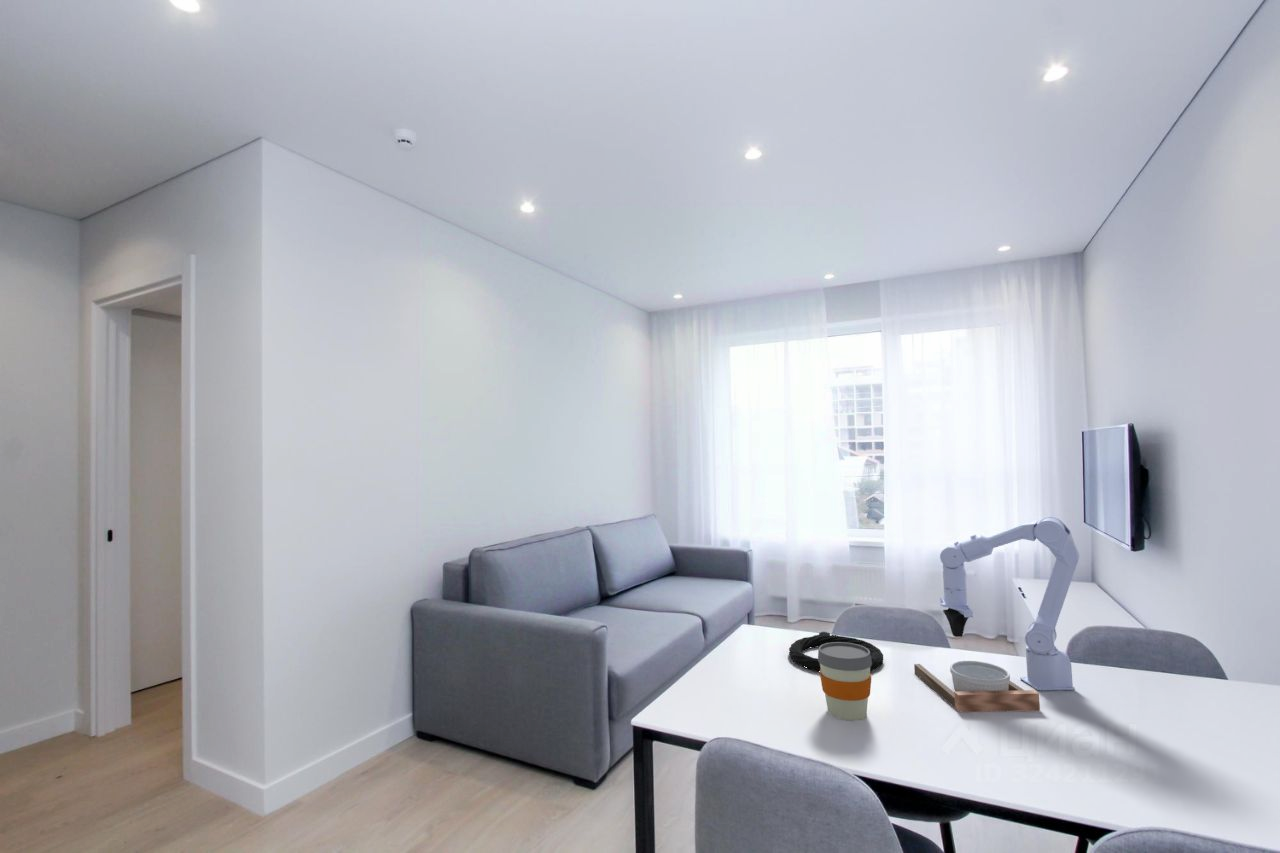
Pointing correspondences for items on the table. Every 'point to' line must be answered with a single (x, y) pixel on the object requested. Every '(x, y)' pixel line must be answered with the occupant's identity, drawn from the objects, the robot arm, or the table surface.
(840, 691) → the reusable coffee cup
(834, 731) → the table surface
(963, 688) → the ramekin
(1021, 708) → the wooden serving tray
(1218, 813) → the table surface
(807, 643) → the cable lock
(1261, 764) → the table surface
